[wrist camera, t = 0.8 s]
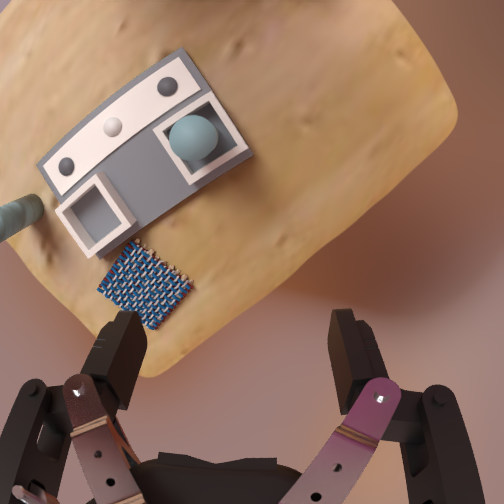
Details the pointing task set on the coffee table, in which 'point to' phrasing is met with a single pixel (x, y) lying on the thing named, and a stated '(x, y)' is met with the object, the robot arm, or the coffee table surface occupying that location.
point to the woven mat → (144, 284)
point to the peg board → (141, 154)
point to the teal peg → (19, 215)
